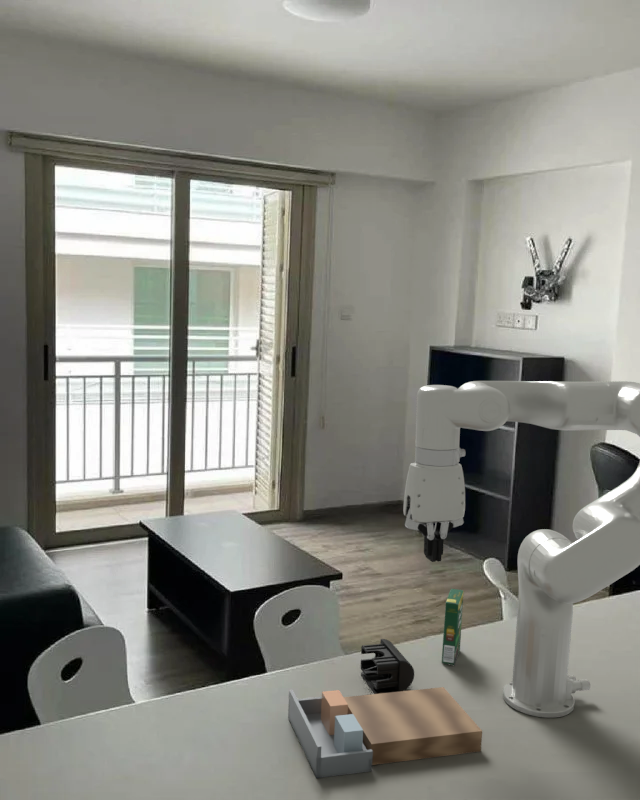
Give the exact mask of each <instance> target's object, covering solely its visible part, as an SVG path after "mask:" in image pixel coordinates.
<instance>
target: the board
mask: <svg viewBox="0 0 640 800" xmlns="http://www.w3.org/2000/svg"><path fill="white" fill-rule="evenodd" d="M343 697H344V699H345V700H346V702H347V704H348V714H353V715H354V716H355V718H356V719H357V721H358V723H359V724H360V726H361V727H362V729H363V744H364V746H365V747H366V749H367V750H370V749H372V751H373V758H372V766H375V765H383V764H390V763H399V762H407V761H413V760H414V761H417V760H423V759H430V758H440V757H445V756H446V757H447V756H454V755H462V754H471V753H479V752H482V743H483V742H482V741H483V740H482V739H483V730H482V729H481V728H480V727H479V725H478V724H477V723H476V722H475V721H474V720H473V719H472V718H471V716H470V715H469V714H468V713H467V712H466V711H465V709H464V708H463V707H462V705H460V704H459V703H458V702H457V701H456V699H455V698H454V697H453V696H452V695H451V693H449V691H448V690H447V689H446V688H445V687H443V686H442V687H434V688H433V687H431V688H430V687H429V688H422V689H412V690H404V691H400V692H390V693H380V694H374V693H372V694H364V695H363V694H362V695H352V696H343Z"/></svg>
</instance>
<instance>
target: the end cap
mask: <svg viewBox="0 0 640 800" xmlns="http://www.w3.org/2000/svg"><path fill="white" fill-rule="evenodd" d="M379 641H380V643H377V644H376V643H375V644H365V645H361V647H360V649H361V650H360V653H361V655H366V654H367V655H368V654H374V657H371V658H363V659H360V670H361V672H360V676H361V678H362V679H363V680H364V682H365V683H366V684H367V686H368V687H369V688H370V690H371V691H372V694H380V693H390V692H400V691H407V689H408V688H409V687H410V686H411V685H412V683H413V681H414V679H415V670H414V667H413V665H412V664H411V663H410V662H409V661H408V660H407V658H406V657H405V656H404V655H403V654H402V653H401V651H400V650H399V649H398V648H397V647H396V646H395V645H394V644H393V642H391V640H388V639H385V638H380V640H379Z"/></svg>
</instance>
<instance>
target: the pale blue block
mask: <svg viewBox="0 0 640 800" xmlns="http://www.w3.org/2000/svg"><path fill="white" fill-rule="evenodd" d="M362 743H363V729H362V727H361V726H360V724H359V723H358V721H357V719H356V718H355V716H354V715H353V714H348V715H338V716H335V730H334V747H335V748H336V750H337V752H338V753H345V752H353V751H362Z"/></svg>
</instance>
